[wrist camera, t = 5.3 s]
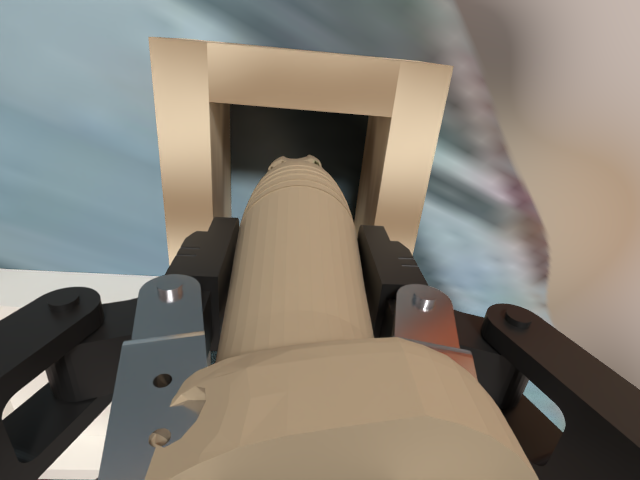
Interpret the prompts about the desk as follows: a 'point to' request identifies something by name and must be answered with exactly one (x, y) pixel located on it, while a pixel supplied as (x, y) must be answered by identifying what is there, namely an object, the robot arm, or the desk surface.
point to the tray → (7, 297)
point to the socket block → (293, 93)
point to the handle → (325, 366)
